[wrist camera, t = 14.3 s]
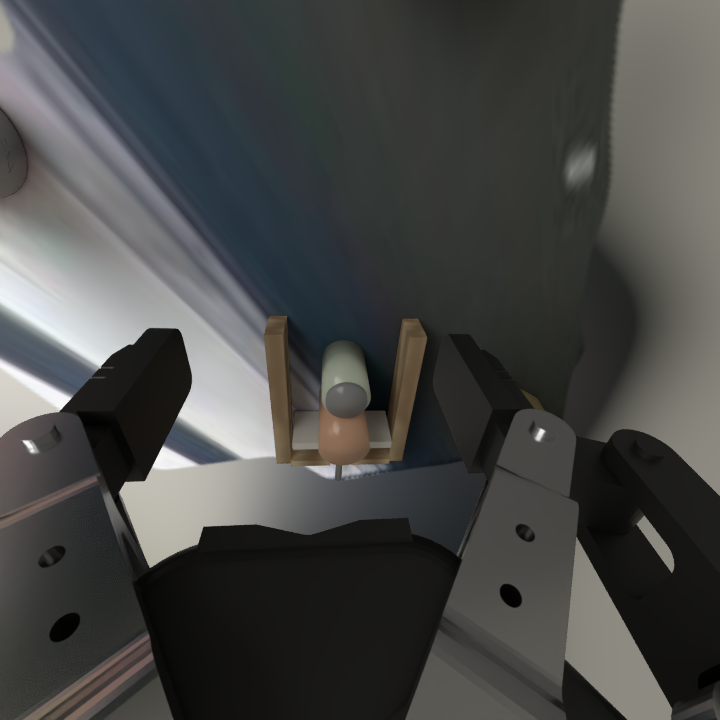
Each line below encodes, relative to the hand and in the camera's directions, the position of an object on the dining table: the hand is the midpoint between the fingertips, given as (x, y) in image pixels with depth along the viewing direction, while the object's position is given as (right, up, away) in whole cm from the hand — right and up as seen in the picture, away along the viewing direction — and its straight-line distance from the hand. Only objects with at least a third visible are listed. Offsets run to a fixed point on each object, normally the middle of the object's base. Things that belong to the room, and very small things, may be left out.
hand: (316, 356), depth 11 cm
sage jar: (-1, 0, +34) cm, 34 cm away
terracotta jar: (-1, -5, +37) cm, 38 cm away
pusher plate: (-2, -13, +43) cm, 45 cm away
